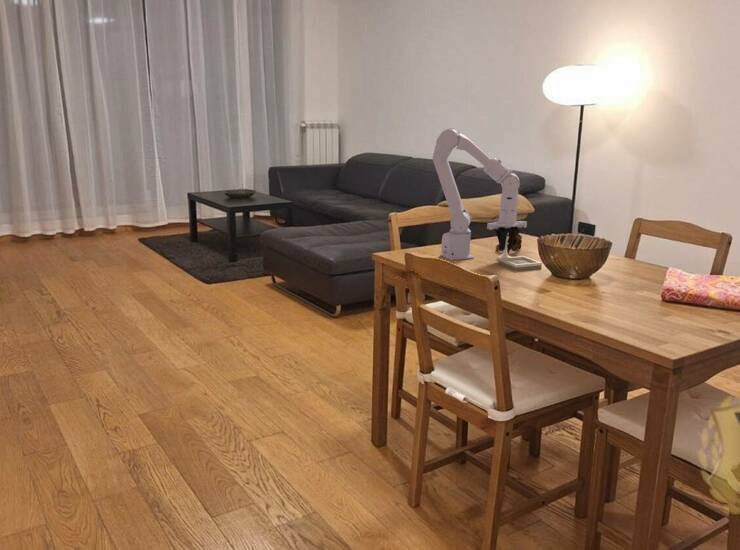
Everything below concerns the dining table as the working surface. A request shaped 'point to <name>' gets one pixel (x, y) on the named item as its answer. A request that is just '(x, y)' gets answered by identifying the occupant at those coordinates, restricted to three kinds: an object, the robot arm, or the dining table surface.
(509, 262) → the picture frame
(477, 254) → the dining table surface
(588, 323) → the dining table surface
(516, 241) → the pottery mug
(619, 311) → the dining table surface
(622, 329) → the dining table surface
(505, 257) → the chess piece
